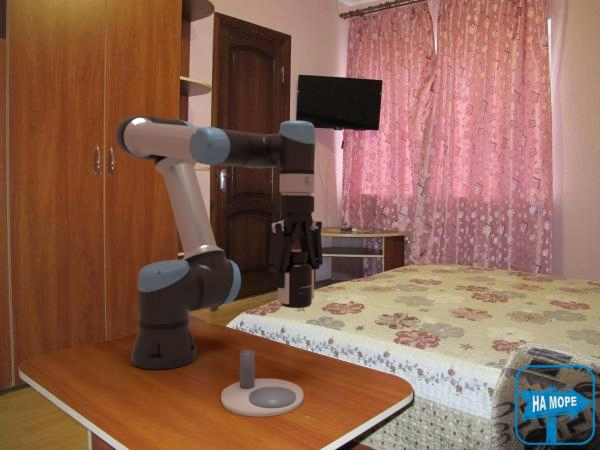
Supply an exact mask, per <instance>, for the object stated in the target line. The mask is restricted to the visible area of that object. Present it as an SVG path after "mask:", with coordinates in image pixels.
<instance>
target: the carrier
mask: <svg viewBox="0 0 600 450" xmlns="http://www.w3.org/2000/svg"><path fill="white" fill-rule="evenodd" d="M255 352H256V351H255V350H252V349H244V350H243V349H242V350H241V351H239V381H237V382H235V383H233V384H230V385H229V386H226V388H224V389H223V390H222V392H221V396H220V397H221V398H220V400H221V404H222V406H223V407H224V408H225V410H227V411H229V412H231V413H234V414H237V415H239V416H240V415H241V416H245V417H246V416H247V417H254V418H255V417H256V418H258V417H259V418H264V417H266V418H267V417H275V416H280V415H284V414H287V413H291V412H293V411H294V410H297V409H298V408H299V407H300V406H301V405H302V404H303V402H304V391H303V389H302V388H301V387H300V386H299V385H297V384H295V383H293V382H291V381H288V380H284V379H277V378H255V377H256V376H255V371H256V370H255V366H256V363H255V362H256V361H255V358H256V356H255V355H256V353H255Z"/></svg>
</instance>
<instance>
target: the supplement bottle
mask: <svg viewBox="0 0 600 450" xmlns="http://www.w3.org/2000/svg"><path fill="white" fill-rule="evenodd" d="M307 259H308V251H307V250H302V249H292V251H291V255H290V259H289V263H288V266H287V270H286V273H289V304H284V303H280V304H281V306H282V307H285V308H289V309H303V308H308V307H311V306H312V303H313V302H312V301H313V299H312V266H311V264H310V263H308V262H307ZM281 267H282V265H281Z"/></svg>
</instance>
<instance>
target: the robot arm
mask: <svg viewBox="0 0 600 450" xmlns="http://www.w3.org/2000/svg"><path fill="white" fill-rule="evenodd" d="M315 132H316V131H315V126H314V124H313V123H312V122H311V121H306V120H286V121H283V122H281V123H280V125H279V131H278V132H277V133H270V134H268V133H267V134H262V133H256V132H255V133H254V132H247V131H246V132H245V131H237V130H232V129H224V128H218V127H213V126H207V127H206V126H195V125H194V124H192V123H191V122H189V121H187V120H186V121H185V120H181V119H179V118H173V119H172V118H165V117H159V116H152V115H146V114H134V115H133V114H132V115H129V116H127V117H125V118H123V119H122V120H120V122H119V123H118V124H117V125H116V128H115V133H114V139H115V142H116V145H117V147H118V148H119V149H120V150H121V152H122V153H124V154H125V155H127V156H128V157H131V158H133V159H139V160H151V161H153V162H154V168H155V170H156V172H158V173H159V174H161V175H163V179H164V182H165V186H166V190H167V194H168V198H169V201H170V205H171V208H172V213H173V215H174V219H175V220H174V221H175V224H176V228H177V232H178V234H179V239H180V242H181V246H182V249H183V254H184V257H183V258H182V259H169V260H161V261H156V262H152V263H149V264H146V265H145V266H143V267H141V269H140V270H139V272H138V280H137V281H138V282H137V290H138V291H137V292H138V294H137V295H138V329H137V335H136V338H135V340H134V343H133V347H132V350H131V356H130V357H131V364H132V365H133V366H135V367H136V368H139V369H146V370H167V369H175V368H180V367H183V366H187V365H188V364H191V363H193V362H194V361H196V359H197V346H196V344H195V343H196V342H195V340H194V337H193V334H192V331H191V329H190V322H189V321H190V316H189V315H190V313H191V312H195V311H199V310H200V311H201V310H204V309H209V308H219V307H222V305H227V304H230V303H231V302H233V301H234V300H235V299H236V297H237V296H238V294H239V290H240V289H241V284H242V276H241V272H240V271H241V270H240V268H239V266H238V264H237V263H235V261H233V260H231V259H227V257H226V253H225V250H224V249H222V248H221V247H219V246H217V243H216V240H215V236H214V232H213V229H212V226H211V225H212V224H211V222H210V218H209V215H208V211H207V208H206V204H205V201H204V197H203V194H202V190H201V187H200V183H199V180H198V177H197V172H196V169H195V167H196V165H197V163H198V164H202V165H207V166H225V167H241V168H242V167H243V168H248V169H253V170H263V169H274V168H279V190H278V191H279V193H281V195H279V203H278V205H279V209H278V210H279V212H280V214H281V216H280V220H279V221H278V222H270V223H269V231H270V240H269V253H268V262H267V263H268V266H267V268H268V270H270V271H272V272H273V273H275V287H276V288H277V302H278V304H279V303H280V304H281V303H284V304H289V273H286V270H287V266H288V263H289V259H290V255H291V251H292V250H293V248H294V243H296V241H299V244H300V248H301V249H300V250H307V251H308V259H307V262H308V263H310V264H311V266H312V300H314V299H315V283H316V270H319V269H320V266H322V265H323V246H322V227H323V222H322V221H318V220H317V221H316V220H313V216H312V214H313V213H314V212H315V197H314V196H313V195H312V194H314V193H315V156H316V145H317V144H316V143H317V142H316V134H315ZM281 266H282V267H281Z"/></svg>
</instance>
